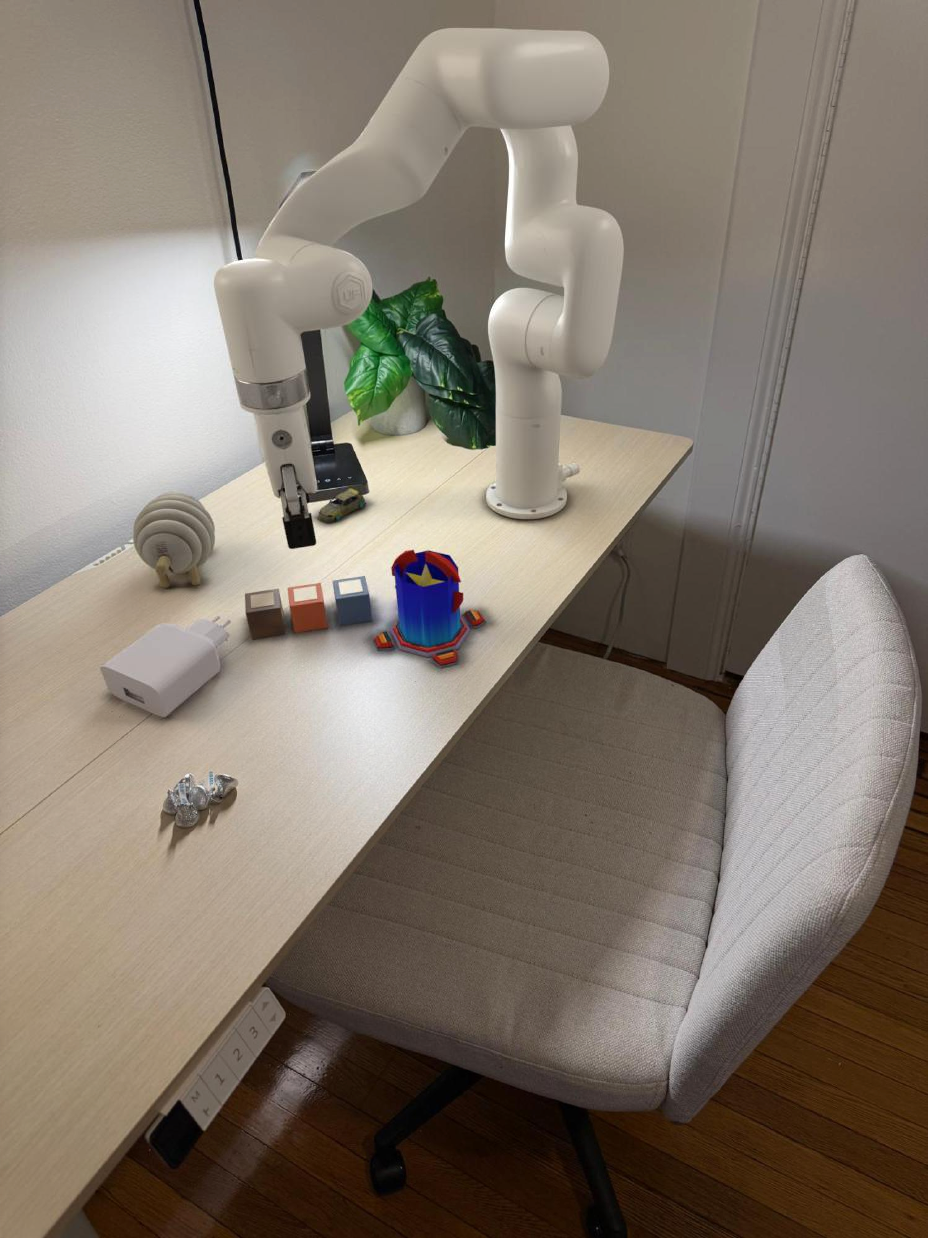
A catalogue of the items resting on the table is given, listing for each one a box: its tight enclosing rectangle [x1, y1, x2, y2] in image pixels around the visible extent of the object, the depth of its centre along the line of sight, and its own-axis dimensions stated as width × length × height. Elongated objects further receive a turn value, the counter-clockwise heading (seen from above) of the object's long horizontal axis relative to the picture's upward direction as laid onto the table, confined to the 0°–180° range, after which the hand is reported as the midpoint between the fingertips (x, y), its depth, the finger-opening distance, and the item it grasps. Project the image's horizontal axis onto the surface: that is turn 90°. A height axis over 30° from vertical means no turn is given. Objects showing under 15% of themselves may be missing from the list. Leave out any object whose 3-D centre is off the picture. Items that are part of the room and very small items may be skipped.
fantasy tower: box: [372, 549, 488, 669], centre depth 99 cm, size 12×12×12 cm
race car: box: [316, 487, 367, 524], centre depth 126 cm, size 4×8×2 cm, turn 138°
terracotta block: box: [287, 582, 329, 634], centre depth 104 cm, size 4×4×4 cm
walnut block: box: [244, 588, 287, 640], centre depth 103 cm, size 4×4×4 cm
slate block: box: [332, 575, 373, 626], centre depth 105 cm, size 4×4×4 cm
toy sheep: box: [132, 491, 216, 589], centre depth 111 cm, size 11×17×11 cm, turn 10°
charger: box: [99, 615, 231, 718], centre depth 97 cm, size 5×9×15 cm
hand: (299, 524), depth 98 cm, fingers open, 9 cm apart
